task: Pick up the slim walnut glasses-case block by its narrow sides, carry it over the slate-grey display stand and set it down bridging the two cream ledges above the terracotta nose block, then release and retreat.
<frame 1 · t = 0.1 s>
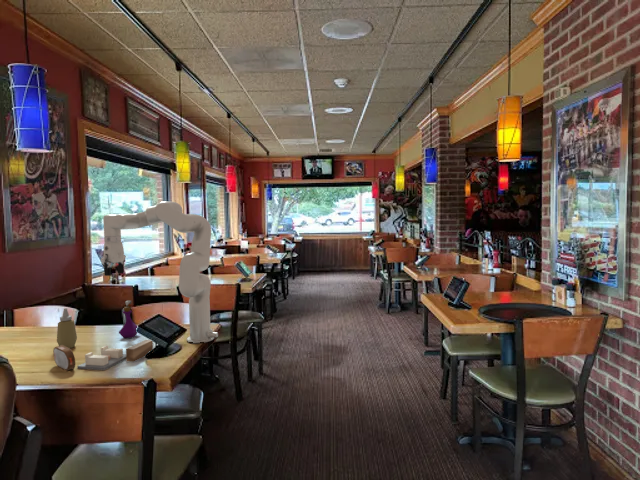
hand: (114, 274, 215), 31 cm above the table, fingers open, 9 cm apart
perfume bottle: (129, 337, 216), on the table
stand: (104, 362, 178), on the table
squeeze bottle: (67, 347, 200), on the table
tin: (64, 368, 173), on the table
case: (140, 357, 185), on the table
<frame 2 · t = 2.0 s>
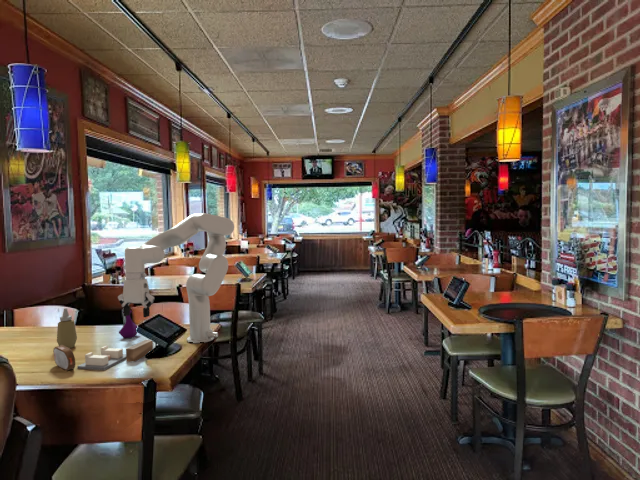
hand: (136, 316, 185), 17 cm above the table, fingers open, 9 cm apart
nothing on the table moved.
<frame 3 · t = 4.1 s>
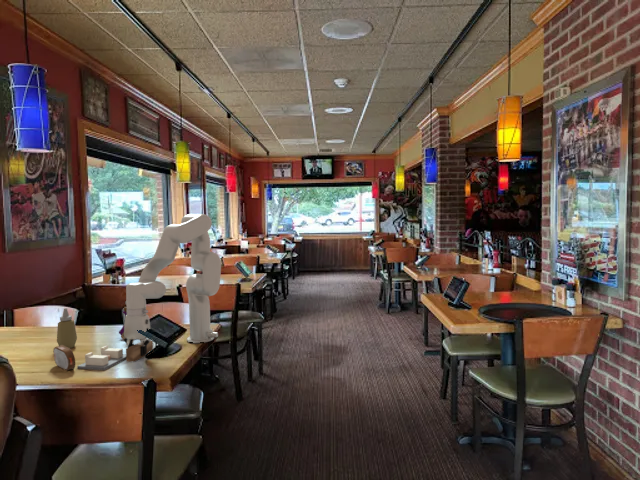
hand: (137, 354, 184), 1 cm above the table, fingers open, 5 cm apart
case: (140, 357, 185), on the table, touching gripper
everything else where it was.
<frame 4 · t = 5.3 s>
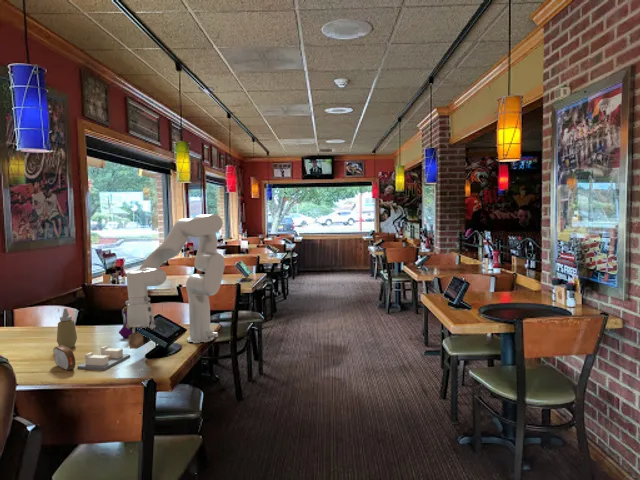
hand: (142, 342, 185), 6 cm above the table, fingers closed on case, 3 cm apart
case: (142, 343, 186), point 5 cm above the table, touching gripper
everything else where it was.
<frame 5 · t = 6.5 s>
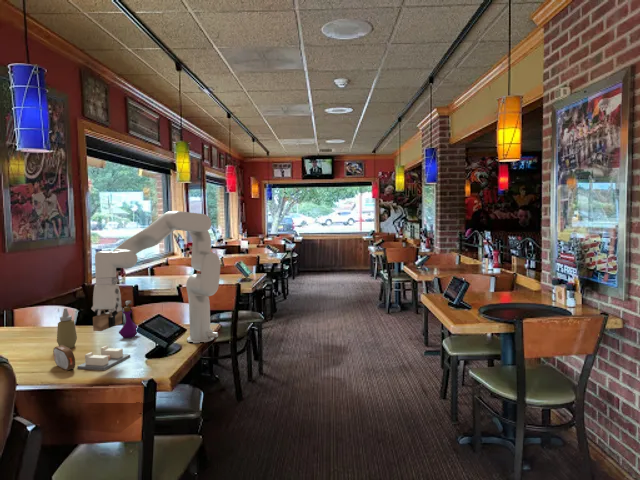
hand: (107, 325, 178), 15 cm above the table, fingers closed on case, 3 cm apart
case: (108, 326, 178), point 14 cm above the table, touching gripper
everything else where it was.
when the fingers open (5 cm above the table, at t = 8.6 s): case stays where it is, resting on stand.
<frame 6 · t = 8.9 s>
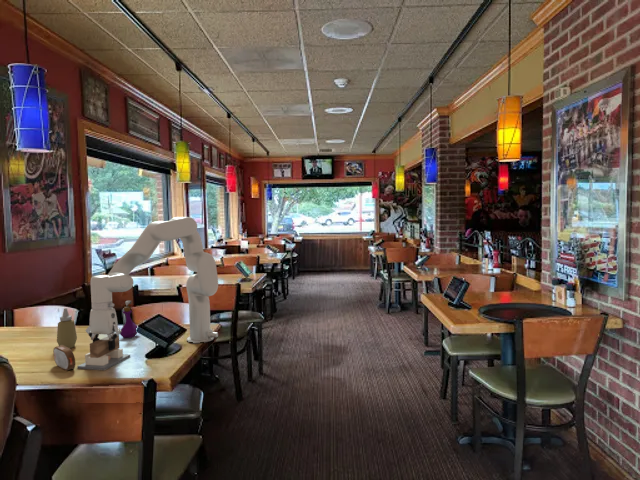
hand: (104, 348, 178), 6 cm above the table, fingers open, 6 cm apart
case: (105, 352, 178), point 4 cm above the table, touching stand
everything else where it was.
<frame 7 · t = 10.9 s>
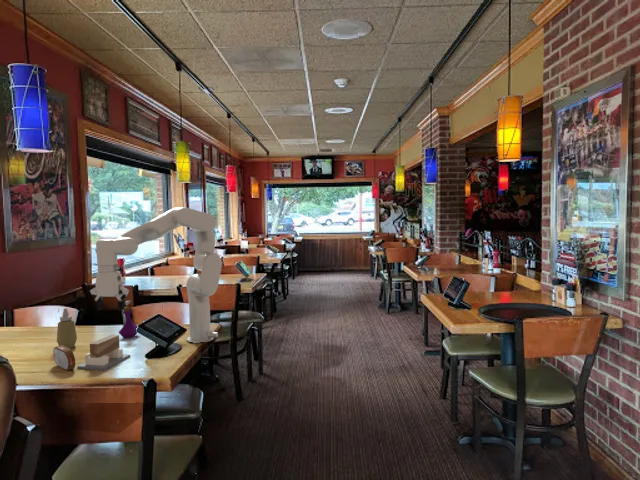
hand: (110, 309, 181), 21 cm above the table, fingers open, 9 cm apart
nothing on the table moved.
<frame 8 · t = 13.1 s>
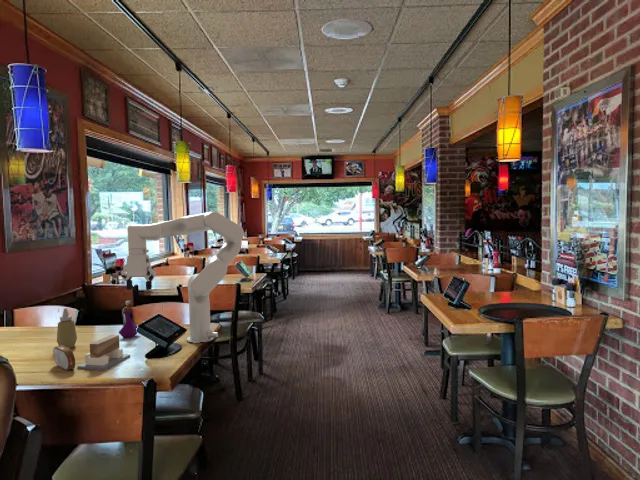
hand: (139, 289, 198), 26 cm above the table, fingers open, 9 cm apart
nothing on the table moved.
at the end: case inside the target area on the stand (0.5 cm from its centre), point 4.0 cm above the stand's base; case tilted 0°; the gripper is holding nothing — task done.
